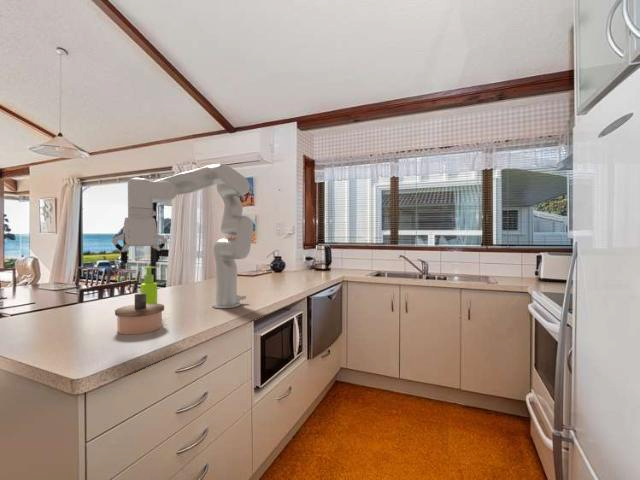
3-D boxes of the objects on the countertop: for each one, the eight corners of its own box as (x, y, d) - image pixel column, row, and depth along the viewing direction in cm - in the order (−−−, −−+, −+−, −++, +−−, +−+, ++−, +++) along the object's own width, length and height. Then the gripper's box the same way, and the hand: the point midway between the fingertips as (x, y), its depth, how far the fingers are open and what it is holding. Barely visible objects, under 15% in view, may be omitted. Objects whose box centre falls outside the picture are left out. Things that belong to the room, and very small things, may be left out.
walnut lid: (159, 304, 119) (159, 288, 119) (168, 312, 107) (168, 294, 107) (112, 310, 109) (112, 293, 109) (117, 319, 98) (117, 300, 97)
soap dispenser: (161, 313, 130) (161, 266, 129) (151, 317, 123) (151, 267, 123) (148, 312, 130) (148, 265, 130) (137, 317, 123) (137, 267, 123)
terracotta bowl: (154, 321, 117) (154, 305, 117) (166, 328, 108) (166, 311, 108) (114, 328, 108) (114, 311, 108) (123, 337, 99) (123, 318, 99)
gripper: (163, 215, 117) (163, 260, 117) (108, 213, 105) (109, 263, 105) (170, 214, 111) (170, 261, 112) (113, 212, 99) (114, 264, 100)
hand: (140, 262), depth 108 cm, fingers open, 9 cm apart
